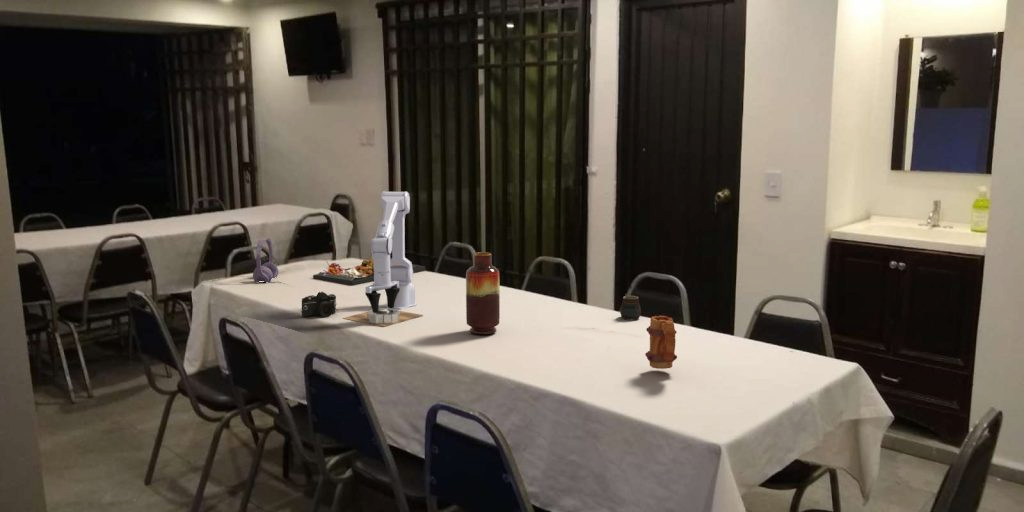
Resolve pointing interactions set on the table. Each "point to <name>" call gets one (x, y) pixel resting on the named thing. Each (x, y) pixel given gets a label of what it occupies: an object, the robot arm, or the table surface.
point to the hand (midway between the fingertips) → (383, 310)
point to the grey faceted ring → (383, 317)
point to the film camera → (319, 305)
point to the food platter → (354, 273)
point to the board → (363, 319)
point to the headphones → (266, 269)
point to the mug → (661, 342)
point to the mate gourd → (630, 307)
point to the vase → (482, 295)
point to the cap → (383, 311)
